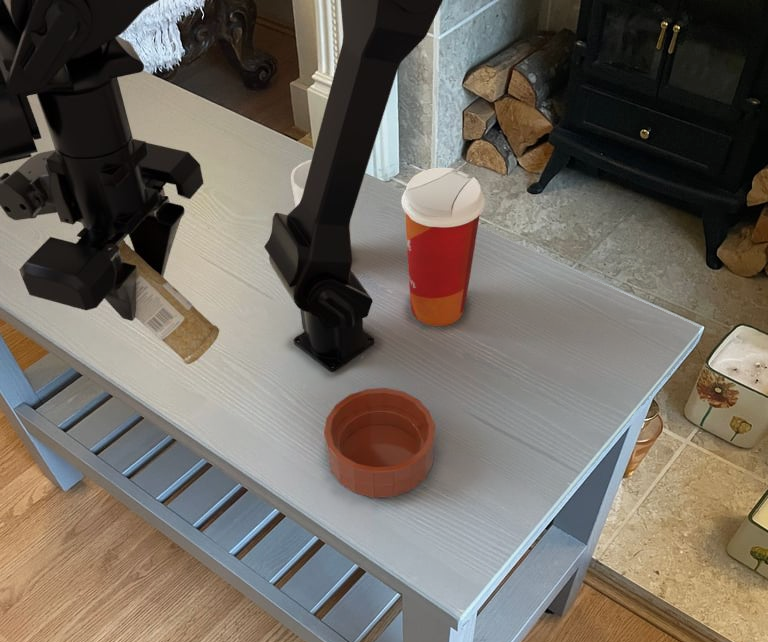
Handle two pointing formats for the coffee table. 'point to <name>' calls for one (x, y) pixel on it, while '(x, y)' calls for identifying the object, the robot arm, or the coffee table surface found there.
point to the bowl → (380, 442)
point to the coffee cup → (441, 241)
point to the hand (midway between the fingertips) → (142, 302)
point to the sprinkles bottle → (168, 311)
